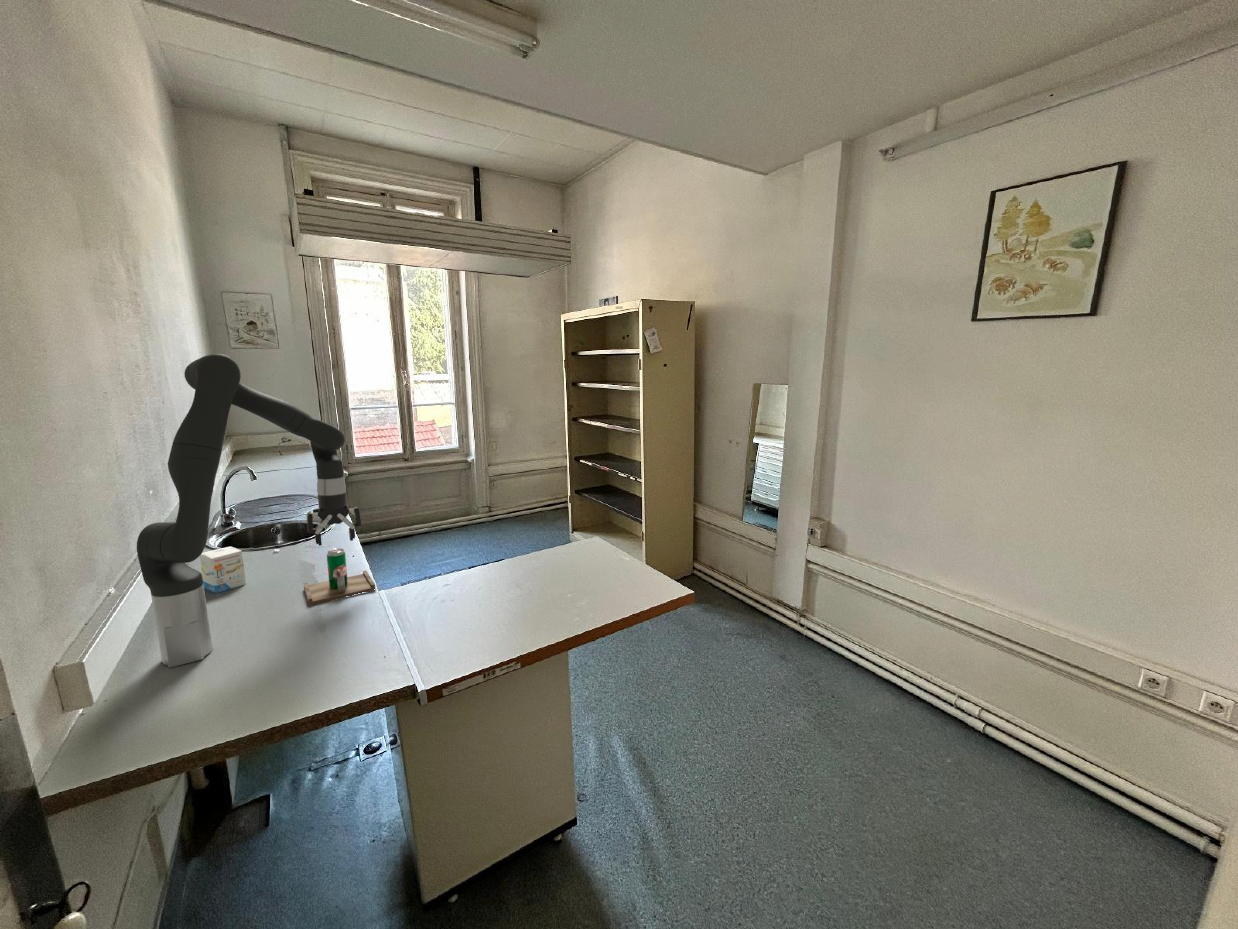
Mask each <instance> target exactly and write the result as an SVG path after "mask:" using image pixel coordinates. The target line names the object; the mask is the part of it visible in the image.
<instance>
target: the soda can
mask: <svg viewBox="0 0 1238 929" xmlns="http://www.w3.org/2000/svg"><path fill="white" fill-rule="evenodd" d="M326 562H327V563H326V564H327V573H328V574H327V575H328V576H327V577H328V581H329V587H330V588H331V589H338V585H337V577H338V576H344V579H345V586H346V585H347V584H348V581H347V577H348V573H347V572H348V570H347V557H346V551H345V550H344V548H331V549H329V550H328V551H327V554H326Z"/></svg>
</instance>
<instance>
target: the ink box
mask: <svg viewBox="0 0 1238 929" xmlns="http://www.w3.org/2000/svg"><path fill="white" fill-rule="evenodd" d="M243 558H244V557H243V551H242V550H240V549H238V548H236V547H233V546H226V547H222V548H217V549H212V550H209V551H203V552H202V554H201V555H200V556H199V562H200V569H201V571H200V572H201V574H202V577H203V585H204V590H205V589H206V590H207V591H210V592H211V593H214V594H219V593H222V592H225V591H228V590H232V589H235V588H238V587H241V586H244V585H247V581H246V574H245V573H246V572H245V564H244V559H243Z"/></svg>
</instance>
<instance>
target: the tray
mask: <svg viewBox="0 0 1238 929" xmlns="http://www.w3.org/2000/svg"><path fill="white" fill-rule="evenodd" d="M347 581H348V584H347V585H346V586H345V579H344V576H338V577H337V585H338V589H331V588H330V587H329V580H327V581H323V582H318V583H312V584H308V582H304V583H303V591H304V594H305V597H306V602H307V604H308V607H311V606H315V605H319V604H323V603H329V602H332V600H333V601H337V600H336V599H338V600H342V599H345V598H344V597H346V596H351V597H353V596H352V595H354V594H358V593H362V592H368V593H372V592H375V591H376V584H375V583H374V580H373V579H372V577H371V576H370V574H369V573H368V571H367V570H362V574H355V575H351V576H347ZM374 589H375V590H374ZM341 598H342V599H341Z"/></svg>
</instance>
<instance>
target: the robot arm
mask: <svg viewBox="0 0 1238 929" xmlns="http://www.w3.org/2000/svg"><path fill="white" fill-rule="evenodd" d="M241 374H242V373H241V370H240V367H239V364H237V362H236V361H235V360H234V359H233V358H231V357H230V356H229V355H226V354H224V353H222V354H221V353H212V354H207V355H204V356H202V357H199V358H197V359H196V360H194V361H191V362H190V363H189V364H188V365H187V366H186V367H185V369H184V374H183V375H184V379H185V381H186V382H187V384H188V386H189V387H191V388H192V389H194V394H193V395H194V396H193V401H192V403H191V406H190V408H189V410H188V411H187V414H185V416H184V418H183V421H182V422H181V424H180V426H179V427H178V429H177V431H176V433H175V435H174V438H173V441H172V444H171V448H170V452H169V455H168V459H167V460H168V461H167V469H168V472H169V475H170V478H171V481H172V482H173V485H174V488H175V490H176V492H177V496H178V510H177V516H176V519H175V520H176V521H175V522H170V521H169V522H168V521H167V522H164V521H163V522H153V523H151V524H148V525H147V526H145V527H144V528H142V530H141V531H140V532H139V535H138V536H137V540H136V552H137V559H138V563H139V566H140V571H141V575H142V579H143V582H144V584H145V585H146V587H148V588H149V590H150V597H151V601H152V609H153V614H154V615H153V616H154V620H155V626H156V632H157V638H158V646H159V650H160V657H161V663H162V664H163V665H165V666H167V667H168V668H175V667H177V666H182V665H185V664H189V663H193V662H197V661H201V660H204V658H205V657H206V656H207V655H210V653H211V652H213V646H214V645H213V640H212V633H211V627H210V621H209V620H210V619H209V614H208V606H207V600H206V593H205V588H204V585H203V577H202V572H201V571H199V570H196V569H195V568H192V567H190V565H188V564H187V563H192V562H194V561H196V560H197V559H198V558H200V555H201V554H202V553H204V550H205V547H206V545H207V540H208V536H209V534H208V533H209V526H210V523H209V522H210V515H211V514H210V513H211V505H212V504H211V503H212V498H213V492H214V487H215V481H216V476H217V473H218V470H219V466H220V461H221V456H222V452H223V444H224V440H225V435H226V431H227V425H228V419H229V414H230V410H231V406H232V405H233V406H235V407H238V408H240V409H243V410H245V411H247V412H249V413H251V414H254V415H256V416H258V417H260V418H262V419H264V420H266V421H268V422H270V423H272V424H274V425H276V426H277V427H279V428H281V429H283V430H285V431H286V432H289V433H291V434H293V435H295V436H298V437H302V438H305V439H306V440H307V441H308V440H309V441H310V447H311V448H310V449H311V452H312V455H313V459H314V460H315V464H316V477H317V478H316V480H317V483H316V492H317V501H318V502H317V503H318V511H317V512H311V511H309V512H306V518H307V519H306V524H307V528H306V529H307V533H309V534H314V540H315V543H316V544H317V545H318V546H323V545H322V533H321V532H322V531H323V529H325V527H326V526H327V525H329V526H332V525H340V524H342V523H344V524H345V525H346V526H347V527H348V534H349V535H348V536H349V540H350V542H352V541H354V539H355V538H356V530H355V529H356V528H357V527H361V526H362V522H361V521H362V520H361V514H360V509H359V507H358V506H353V507H352V508H351V507H350V508H349V507H348V502H347V500H348V499H347V488H346V481H345V475H344V474H345V473H344V462H343V460H342V459H341V458H340V457H339V456H338V452H337V450H340V449H341V448H342V447H343V446H344V445H345V442H346V439H345V435H344V433H343V432H342V430H340V429H339V428H337V427H336V426H333V425H332V424H329V423H327V422H325V421H322V420H320V419H318V418H315V417H314V416H312V415H310V414H309V413H307V412H305V411H304V410H303V409H300V408H299V407H297V406H296V405H293V404H291V403H290V402H288V401H285V400H283V399H280V398H277V397H275V396H272V395H269V394H266V393H263V392H261V391H258V390H256V389H253V388H252V387H249V386H247V385H245V384H244V383H242V382H241V376H242V375H241ZM350 513H351V514H352V515H353V516H354V522H351V520H350V519H348V518H347V517H348V515H349V514H350ZM316 518H319V519H320V521H319V523H318V525H316V527H315V528H314V524H313V522H314V520H316Z"/></svg>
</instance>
